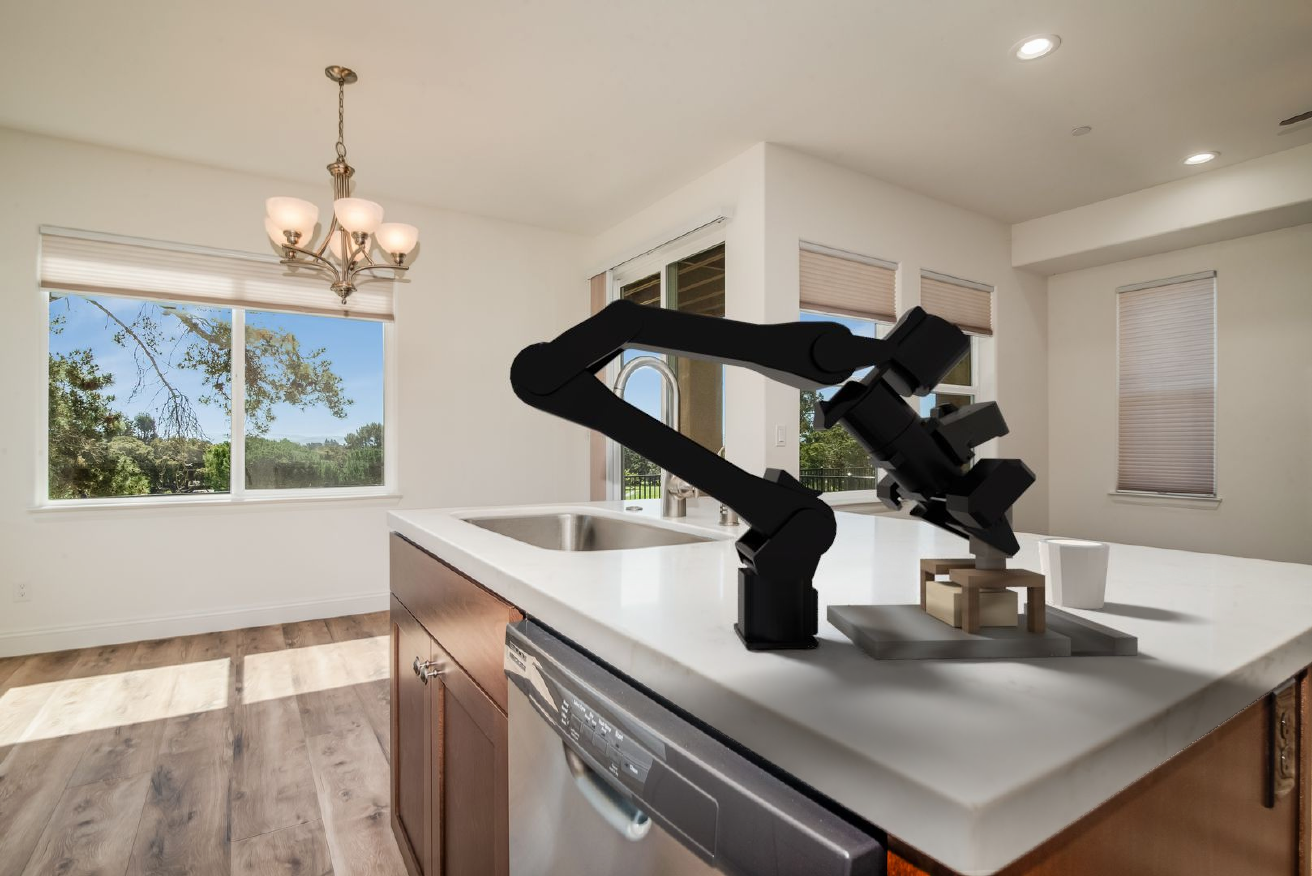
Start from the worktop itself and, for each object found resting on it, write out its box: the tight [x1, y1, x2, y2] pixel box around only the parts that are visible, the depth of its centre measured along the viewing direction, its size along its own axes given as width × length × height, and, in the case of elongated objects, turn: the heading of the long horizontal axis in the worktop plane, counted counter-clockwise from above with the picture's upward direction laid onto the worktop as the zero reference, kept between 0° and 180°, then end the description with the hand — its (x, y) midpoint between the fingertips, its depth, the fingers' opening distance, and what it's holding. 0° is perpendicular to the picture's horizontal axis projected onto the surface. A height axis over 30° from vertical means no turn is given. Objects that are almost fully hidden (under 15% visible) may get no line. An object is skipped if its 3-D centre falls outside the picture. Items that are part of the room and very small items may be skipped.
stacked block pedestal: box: [926, 504, 1019, 627], centre depth 59 cm, size 6×5×12 cm
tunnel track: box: [826, 557, 1139, 660], centre depth 59 cm, size 23×12×6 cm, turn 94°
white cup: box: [1037, 537, 1111, 610], centre depth 72 cm, size 7×7×7 cm
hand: (1004, 549), depth 59 cm, fingers closed on stacked block pedestal, 3 cm apart
